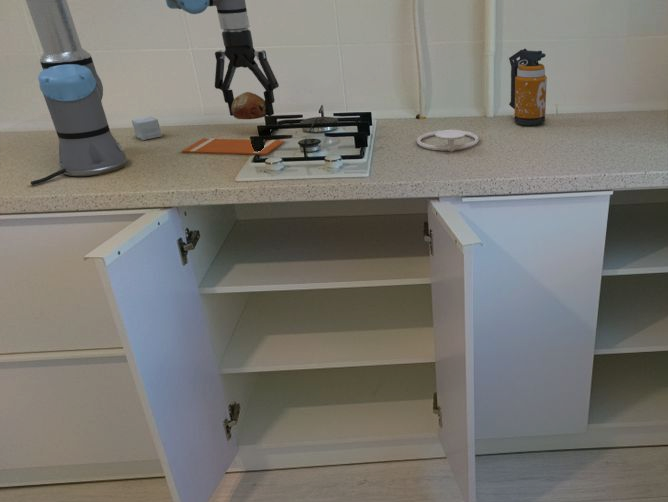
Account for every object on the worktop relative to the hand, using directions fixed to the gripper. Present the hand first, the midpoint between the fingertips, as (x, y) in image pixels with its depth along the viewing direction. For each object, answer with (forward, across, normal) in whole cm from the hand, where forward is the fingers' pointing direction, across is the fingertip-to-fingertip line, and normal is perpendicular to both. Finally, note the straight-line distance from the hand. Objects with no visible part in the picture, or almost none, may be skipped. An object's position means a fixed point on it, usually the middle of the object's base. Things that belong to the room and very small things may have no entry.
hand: (252, 114), depth 191 cm
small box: (+5, +30, +6) cm, 31 cm away
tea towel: (+5, 0, +14) cm, 15 cm away
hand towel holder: (+6, -58, +6) cm, 58 cm away
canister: (+6, -77, -18) cm, 79 cm away
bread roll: (0, 0, 0) cm, 0 cm away
